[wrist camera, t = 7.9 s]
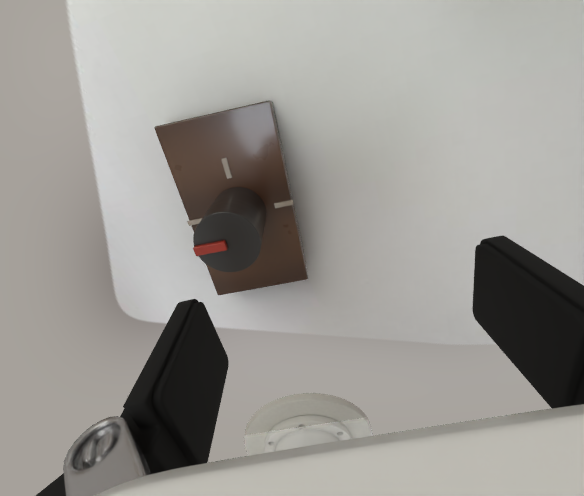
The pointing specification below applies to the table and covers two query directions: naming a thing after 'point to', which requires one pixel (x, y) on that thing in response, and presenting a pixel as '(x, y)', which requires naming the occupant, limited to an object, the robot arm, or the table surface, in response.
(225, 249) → the dial
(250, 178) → the panel
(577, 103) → the table surface
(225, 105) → the table surface
